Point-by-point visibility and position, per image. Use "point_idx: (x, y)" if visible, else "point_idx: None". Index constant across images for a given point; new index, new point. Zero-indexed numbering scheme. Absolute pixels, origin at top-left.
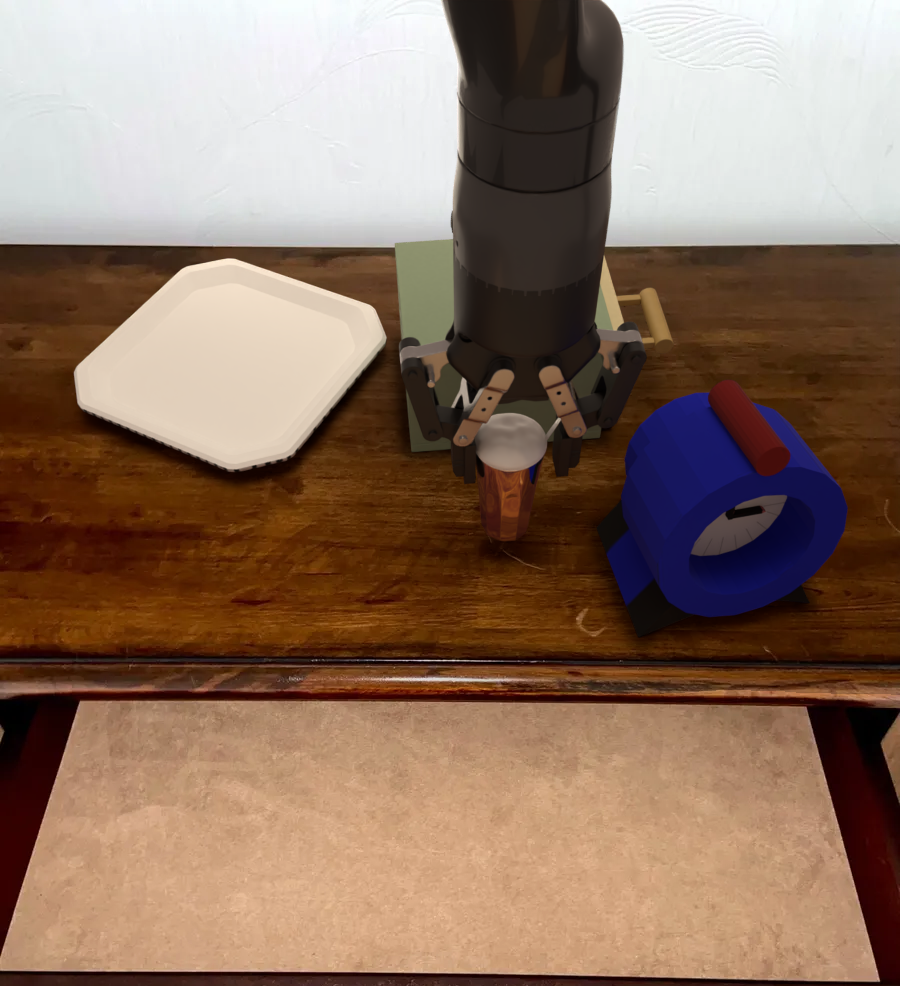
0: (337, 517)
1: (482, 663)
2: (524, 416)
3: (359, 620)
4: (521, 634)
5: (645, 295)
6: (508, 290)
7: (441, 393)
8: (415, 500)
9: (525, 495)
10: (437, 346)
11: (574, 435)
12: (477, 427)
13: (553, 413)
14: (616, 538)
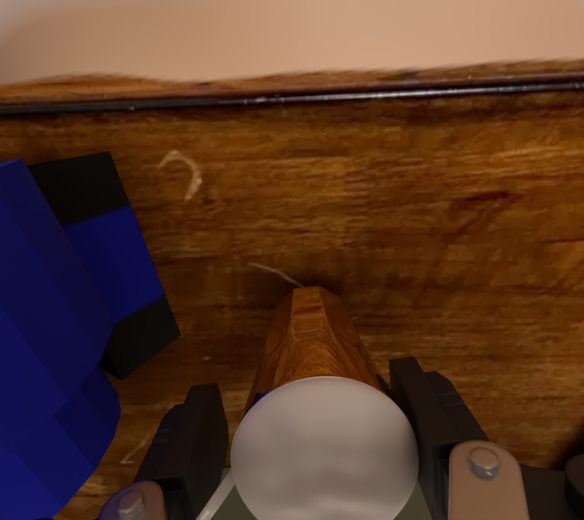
0: (541, 335)
1: (336, 92)
2: None
3: (518, 161)
4: (279, 148)
5: None
6: None
7: None
8: (430, 367)
9: (280, 341)
10: None
11: (143, 489)
12: (459, 512)
13: (242, 511)
14: (145, 311)
